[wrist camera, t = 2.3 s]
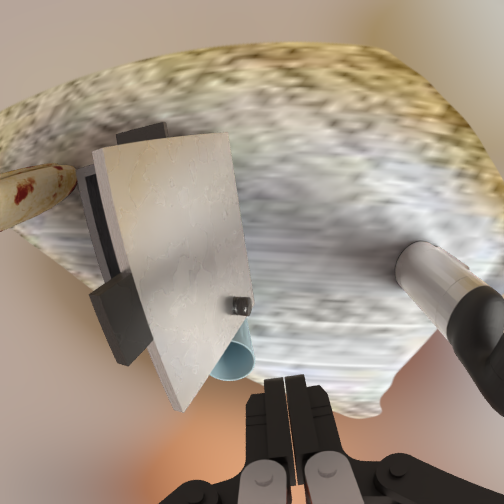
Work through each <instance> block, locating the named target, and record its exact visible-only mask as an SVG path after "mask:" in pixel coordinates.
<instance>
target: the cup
mask: <svg viewBox="0 0 504 504" xmlns="http://www.w3.org/2000/svg"><path fill="white" fill-rule="evenodd" d="M254 366H255V356H254V351H253V347H252V342H251V337H250V332H249V327H248V322H247V318H246V319H245V320H244V322H243V323H242V325H241V326H240V328H239V330H238V331H237V333H236V334H235V336H234V337H233V339H232V340H231V342H230V344H229V345H228V347H227V348H226V350H225V351H224V353H223V354H222V356H221V358H220V359H219V361H218V362H217V364H216V365H215V367H214V368H213V370H212V371H211V373H210V374H209V375H211V376H212V377H214V378H217V379H220V380H225V381H233V380H239V379H241V378H244V377H246V376H247V375H248V374H250V373H251V371H252V370H253V368H254Z"/></svg>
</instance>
